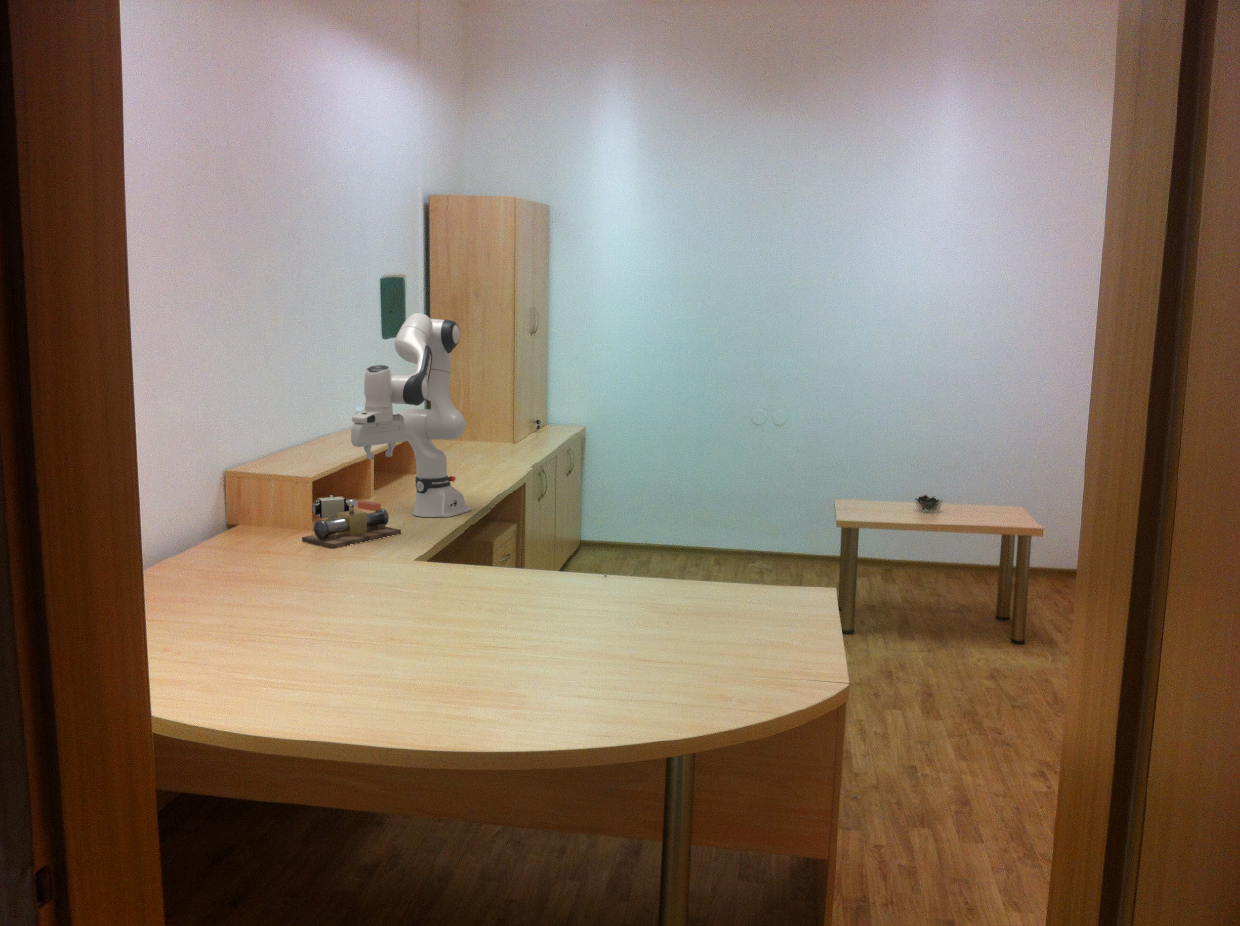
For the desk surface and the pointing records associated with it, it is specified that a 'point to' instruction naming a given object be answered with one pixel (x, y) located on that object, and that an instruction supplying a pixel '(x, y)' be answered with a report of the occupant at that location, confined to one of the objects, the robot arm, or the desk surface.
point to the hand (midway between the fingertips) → (379, 457)
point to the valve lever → (364, 504)
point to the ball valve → (350, 523)
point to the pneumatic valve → (330, 507)
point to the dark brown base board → (352, 537)
